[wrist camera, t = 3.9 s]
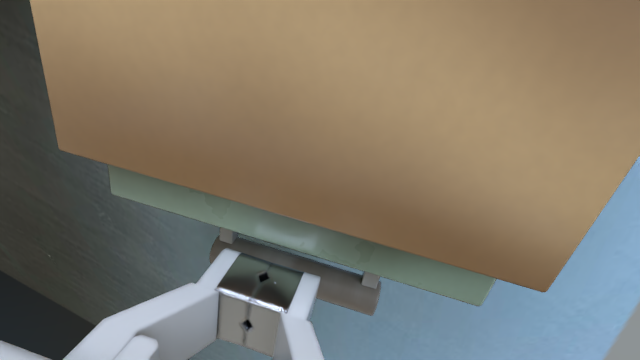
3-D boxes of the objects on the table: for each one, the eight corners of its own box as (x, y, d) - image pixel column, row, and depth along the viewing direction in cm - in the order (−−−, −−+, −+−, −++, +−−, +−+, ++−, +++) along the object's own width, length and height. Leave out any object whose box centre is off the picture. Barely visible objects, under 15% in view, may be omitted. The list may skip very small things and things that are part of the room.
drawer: (422, 253, 18) (429, 399, 11) (223, 195, 20) (122, 293, 13) (620, -224, 10) (1105, -774, 3) (248, -265, 11) (-4, -700, 4)
